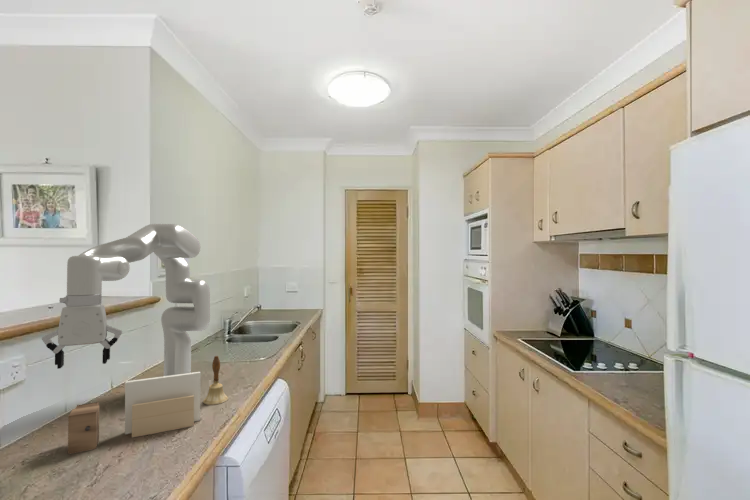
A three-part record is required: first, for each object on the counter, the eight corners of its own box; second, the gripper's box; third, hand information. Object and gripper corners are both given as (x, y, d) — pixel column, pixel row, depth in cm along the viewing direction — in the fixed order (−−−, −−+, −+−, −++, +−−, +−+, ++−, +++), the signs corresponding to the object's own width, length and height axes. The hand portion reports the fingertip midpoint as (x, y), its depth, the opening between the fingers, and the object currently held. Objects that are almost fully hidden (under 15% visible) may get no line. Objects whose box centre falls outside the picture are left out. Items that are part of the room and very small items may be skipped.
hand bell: (233, 397, 140) (233, 354, 140) (216, 406, 132) (217, 360, 132) (214, 395, 142) (215, 352, 142) (197, 403, 134) (198, 357, 135)
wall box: (74, 441, 107) (75, 405, 107) (100, 436, 110) (101, 401, 110) (67, 455, 99) (67, 417, 100) (95, 450, 102) (95, 412, 102)
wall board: (125, 432, 112) (125, 381, 113) (199, 418, 122) (200, 371, 122) (123, 439, 108) (124, 386, 108) (200, 424, 118) (201, 375, 118)
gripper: (38, 304, 96) (37, 373, 95) (120, 301, 104) (119, 364, 103) (47, 301, 102) (45, 365, 102) (124, 298, 110) (123, 357, 110)
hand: (83, 364), depth 103 cm, fingers open, 9 cm apart
